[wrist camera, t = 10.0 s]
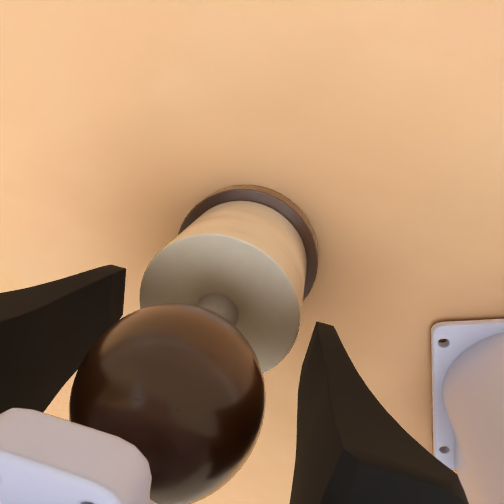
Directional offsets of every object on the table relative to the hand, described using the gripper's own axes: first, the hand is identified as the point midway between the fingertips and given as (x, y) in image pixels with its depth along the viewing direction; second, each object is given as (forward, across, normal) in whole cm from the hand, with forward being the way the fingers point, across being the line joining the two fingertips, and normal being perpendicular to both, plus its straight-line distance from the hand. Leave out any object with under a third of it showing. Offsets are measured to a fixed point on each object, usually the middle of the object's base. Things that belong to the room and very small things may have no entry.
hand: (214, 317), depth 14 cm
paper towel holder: (+6, 0, 0) cm, 6 cm away
